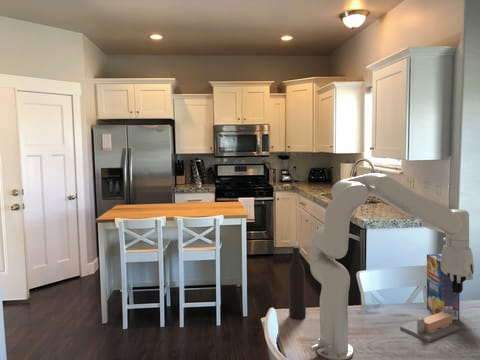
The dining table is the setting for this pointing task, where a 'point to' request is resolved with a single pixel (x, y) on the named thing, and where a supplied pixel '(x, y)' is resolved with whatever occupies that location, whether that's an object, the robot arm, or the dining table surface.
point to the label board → (418, 331)
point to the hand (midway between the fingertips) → (457, 292)
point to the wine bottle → (296, 287)
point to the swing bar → (437, 321)
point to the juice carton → (440, 289)
